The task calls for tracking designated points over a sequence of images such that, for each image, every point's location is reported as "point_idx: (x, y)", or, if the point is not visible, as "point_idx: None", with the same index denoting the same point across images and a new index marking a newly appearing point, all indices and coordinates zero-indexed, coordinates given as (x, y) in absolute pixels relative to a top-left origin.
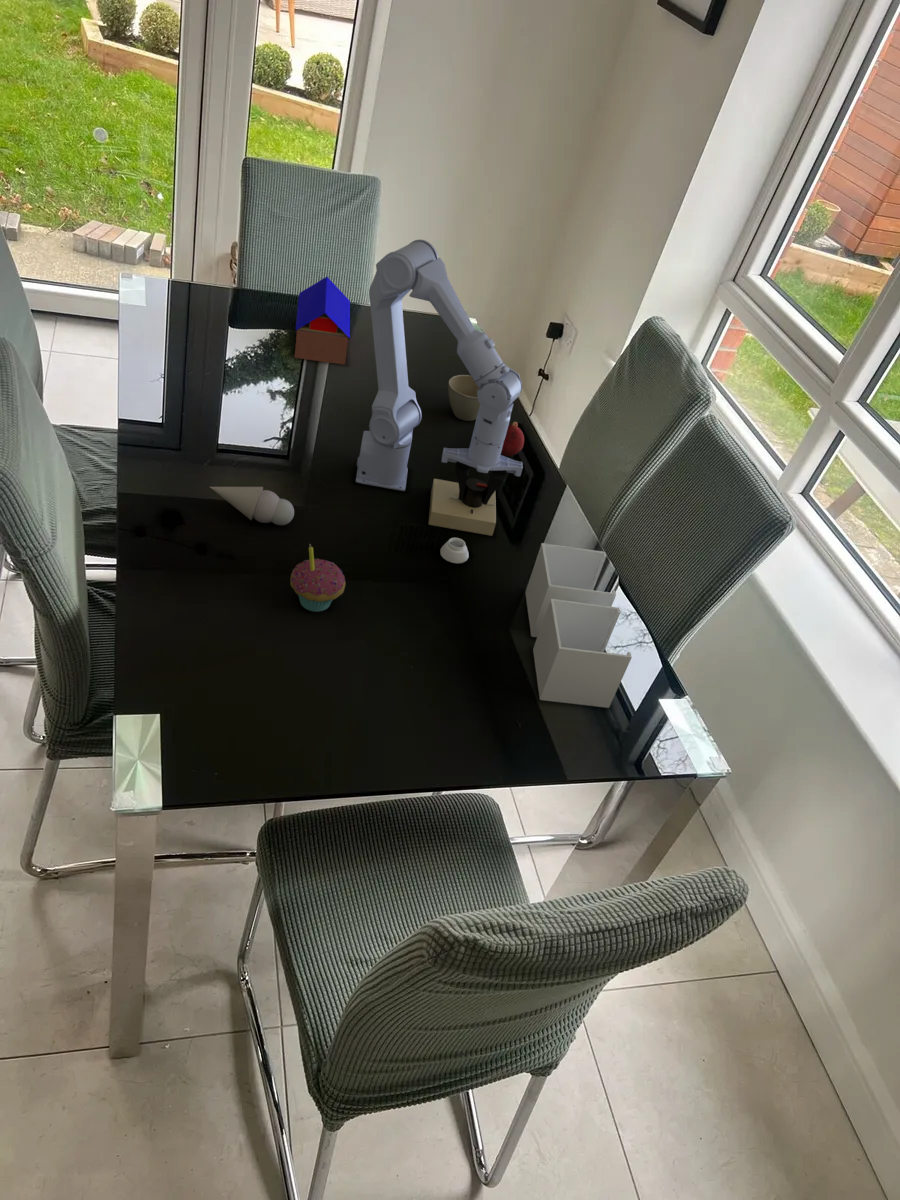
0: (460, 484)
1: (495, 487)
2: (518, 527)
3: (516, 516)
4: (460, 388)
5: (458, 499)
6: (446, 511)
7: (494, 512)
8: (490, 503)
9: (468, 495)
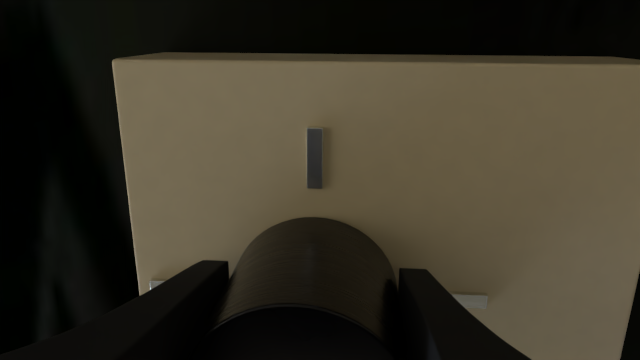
0: (500, 349)
1: (44, 350)
2: (16, 192)
3: (44, 292)
4: None
5: None
6: (539, 104)
7: (136, 199)
8: None
9: (365, 279)
